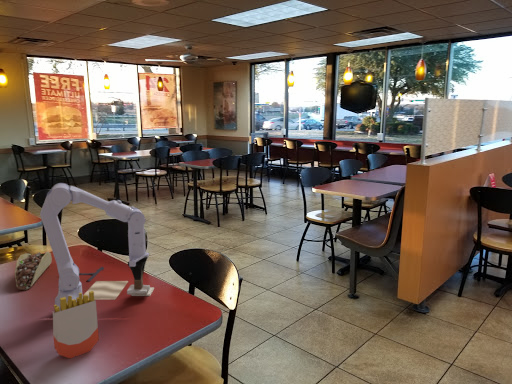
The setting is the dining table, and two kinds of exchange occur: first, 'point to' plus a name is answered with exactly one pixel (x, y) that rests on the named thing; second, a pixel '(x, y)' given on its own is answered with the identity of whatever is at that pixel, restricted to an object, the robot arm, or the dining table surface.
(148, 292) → the tile
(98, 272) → the bracket
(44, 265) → the taco
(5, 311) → the dining table surface
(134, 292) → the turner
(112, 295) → the board
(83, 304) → the french fries container
